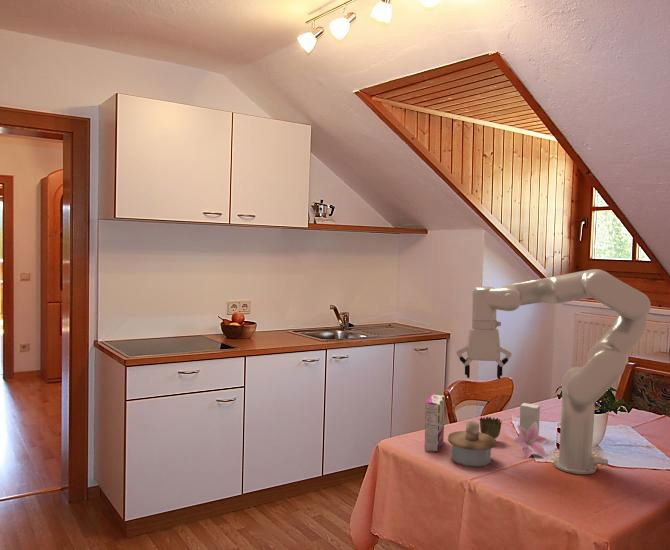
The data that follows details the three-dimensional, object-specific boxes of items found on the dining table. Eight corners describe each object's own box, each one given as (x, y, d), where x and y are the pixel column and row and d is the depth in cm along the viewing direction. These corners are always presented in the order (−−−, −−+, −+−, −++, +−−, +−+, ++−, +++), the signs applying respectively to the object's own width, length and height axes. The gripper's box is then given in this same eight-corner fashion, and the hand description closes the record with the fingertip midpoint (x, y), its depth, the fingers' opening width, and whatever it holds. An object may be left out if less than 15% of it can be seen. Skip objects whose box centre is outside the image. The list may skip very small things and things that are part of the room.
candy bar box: (429, 439, 218) (431, 393, 217) (443, 441, 216) (445, 395, 215) (423, 450, 207) (425, 402, 206) (438, 452, 206) (440, 403, 205)
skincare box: (538, 438, 223) (540, 405, 222) (535, 441, 219) (537, 408, 218) (521, 434, 226) (523, 402, 225) (518, 438, 222) (520, 405, 221)
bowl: (488, 455, 205) (489, 437, 204) (491, 468, 193) (492, 449, 192) (451, 451, 207) (452, 434, 206) (451, 465, 195) (452, 446, 195)
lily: (505, 458, 205) (516, 438, 200) (507, 434, 215) (518, 414, 210) (540, 472, 203) (552, 452, 198) (541, 448, 213) (552, 428, 208)
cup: (502, 446, 213) (504, 423, 213) (481, 445, 214) (482, 422, 213) (497, 438, 221) (498, 416, 220) (476, 438, 221) (477, 416, 220)
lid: (494, 436, 205) (495, 418, 205) (497, 452, 191) (498, 432, 190) (448, 432, 208) (449, 414, 208) (447, 447, 193) (448, 428, 193)
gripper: (510, 323, 203) (509, 375, 204) (456, 322, 205) (455, 374, 206) (513, 327, 195) (512, 381, 196) (457, 326, 198) (456, 379, 199)
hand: (483, 377), depth 201 cm, fingers open, 9 cm apart
